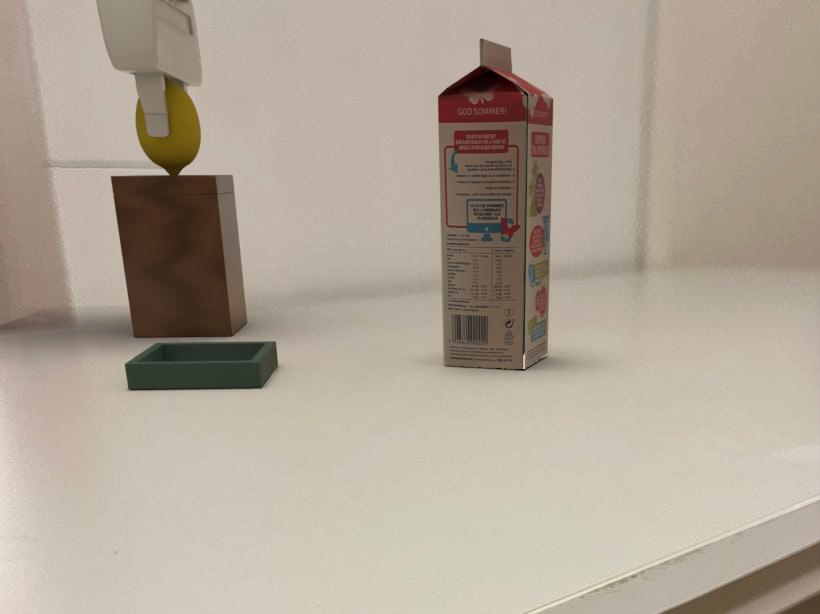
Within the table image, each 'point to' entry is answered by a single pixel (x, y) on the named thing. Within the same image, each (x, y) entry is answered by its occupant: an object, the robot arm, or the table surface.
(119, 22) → the robot arm
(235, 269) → the brown upright box
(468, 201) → the juice carton
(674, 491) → the table surface
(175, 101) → the lemon
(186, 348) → the low tray
